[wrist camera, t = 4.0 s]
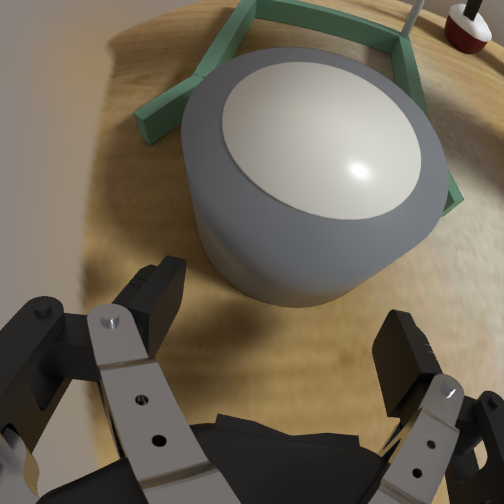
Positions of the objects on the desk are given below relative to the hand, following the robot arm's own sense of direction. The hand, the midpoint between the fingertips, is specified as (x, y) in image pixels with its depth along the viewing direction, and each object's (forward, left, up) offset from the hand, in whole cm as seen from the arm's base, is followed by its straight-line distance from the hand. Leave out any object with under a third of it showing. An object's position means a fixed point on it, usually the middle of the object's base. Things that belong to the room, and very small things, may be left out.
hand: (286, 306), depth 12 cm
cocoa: (-38, -22, -5) cm, 44 cm away
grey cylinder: (-4, -5, -5) cm, 8 cm away
